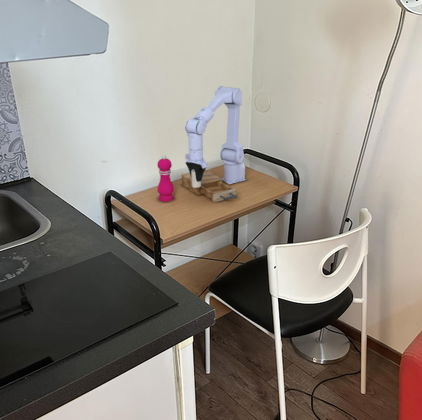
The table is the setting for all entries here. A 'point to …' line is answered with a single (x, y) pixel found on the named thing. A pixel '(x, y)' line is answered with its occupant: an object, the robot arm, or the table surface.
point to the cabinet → (206, 179)
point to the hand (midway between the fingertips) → (196, 179)
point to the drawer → (218, 191)
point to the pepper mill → (165, 180)
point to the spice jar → (194, 182)
